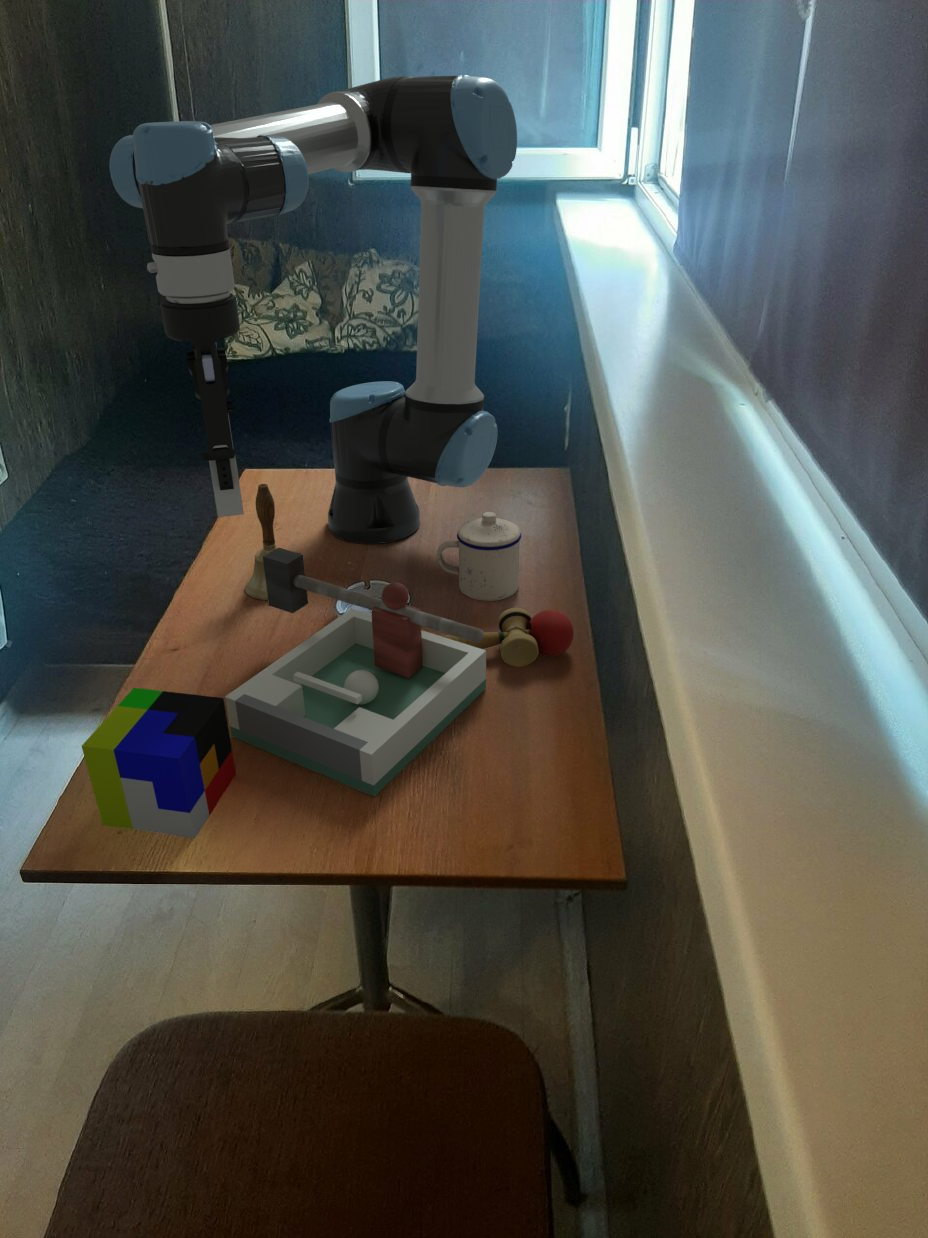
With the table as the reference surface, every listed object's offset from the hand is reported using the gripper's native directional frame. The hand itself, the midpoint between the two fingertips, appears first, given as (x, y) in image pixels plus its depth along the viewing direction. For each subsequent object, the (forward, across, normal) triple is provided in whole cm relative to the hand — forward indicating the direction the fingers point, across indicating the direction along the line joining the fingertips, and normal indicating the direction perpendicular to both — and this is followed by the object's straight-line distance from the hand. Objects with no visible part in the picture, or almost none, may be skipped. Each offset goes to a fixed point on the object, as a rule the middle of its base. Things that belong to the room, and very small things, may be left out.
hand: (227, 490), depth 106 cm
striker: (+22, +4, +14) cm, 27 cm away
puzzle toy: (+24, +22, -10) cm, 34 cm away
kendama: (+25, +4, +31) cm, 40 cm away
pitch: (+24, +12, +12) cm, 30 cm away
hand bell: (+25, -22, +4) cm, 34 cm away
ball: (+21, +12, +12) cm, 27 cm away
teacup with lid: (+25, -14, +33) cm, 44 cm away
